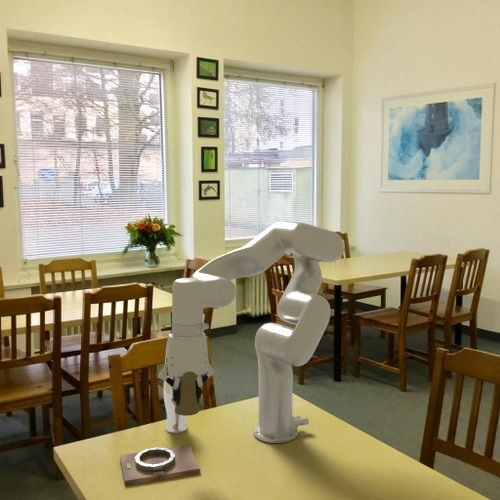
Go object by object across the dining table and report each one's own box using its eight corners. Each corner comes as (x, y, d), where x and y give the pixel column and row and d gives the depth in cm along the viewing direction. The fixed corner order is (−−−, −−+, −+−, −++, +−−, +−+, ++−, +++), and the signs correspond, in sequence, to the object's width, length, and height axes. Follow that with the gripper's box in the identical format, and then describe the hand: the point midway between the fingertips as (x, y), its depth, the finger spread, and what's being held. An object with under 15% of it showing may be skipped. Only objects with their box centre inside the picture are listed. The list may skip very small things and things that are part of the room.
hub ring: (171, 450, 144) (170, 445, 144) (177, 468, 135) (177, 462, 135) (133, 456, 141) (133, 450, 141) (137, 475, 132) (137, 469, 132)
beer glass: (193, 426, 162) (192, 376, 160) (180, 435, 155) (179, 384, 154) (172, 421, 164) (171, 373, 163) (159, 431, 158) (158, 380, 156)
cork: (195, 416, 133) (196, 372, 132) (171, 414, 134) (171, 370, 133) (201, 407, 139) (202, 364, 138) (178, 405, 140) (179, 362, 139)
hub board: (189, 449, 147) (189, 444, 147) (200, 473, 135) (200, 467, 135) (120, 459, 142) (120, 454, 142) (125, 485, 130) (124, 480, 130)
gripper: (216, 323, 141) (215, 393, 142) (150, 327, 135) (149, 400, 137) (225, 330, 134) (223, 404, 135) (155, 335, 128) (155, 411, 130)
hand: (186, 401), depth 136 cm, fingers closed on cork, 4 cm apart
